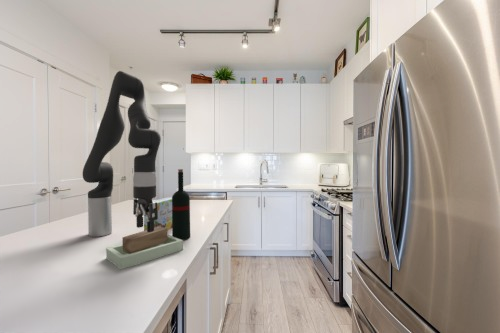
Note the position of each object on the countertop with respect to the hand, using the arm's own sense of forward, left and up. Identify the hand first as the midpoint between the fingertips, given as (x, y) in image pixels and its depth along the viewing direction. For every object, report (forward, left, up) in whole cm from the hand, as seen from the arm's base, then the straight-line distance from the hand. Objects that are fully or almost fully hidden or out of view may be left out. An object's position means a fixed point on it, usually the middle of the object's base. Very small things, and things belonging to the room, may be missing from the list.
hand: (145, 229), depth 86 cm
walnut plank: (0, 0, -6) cm, 6 cm away
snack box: (-24, +19, -9) cm, 32 cm away
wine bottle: (-8, +19, -9) cm, 23 cm away
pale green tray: (0, 0, -9) cm, 9 cm away
